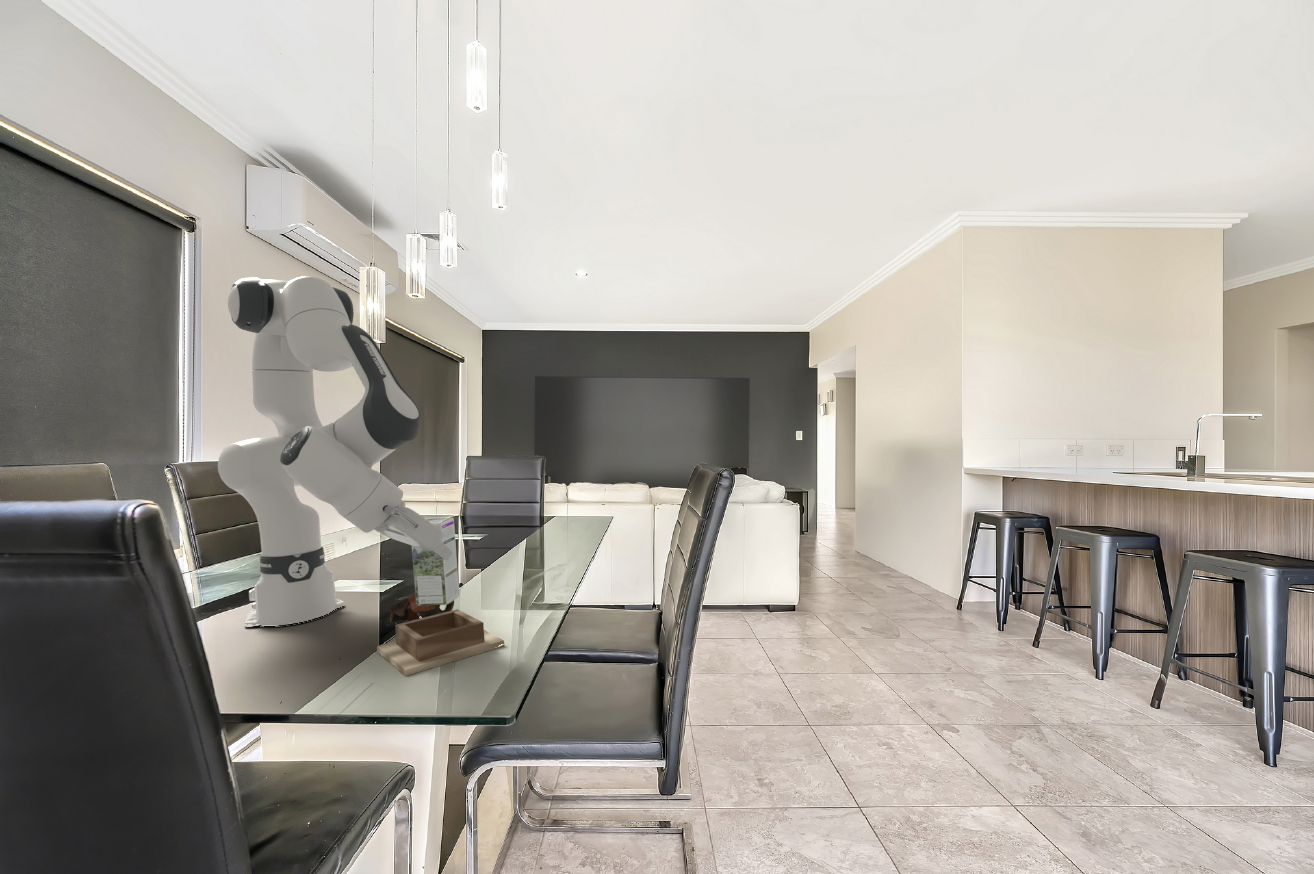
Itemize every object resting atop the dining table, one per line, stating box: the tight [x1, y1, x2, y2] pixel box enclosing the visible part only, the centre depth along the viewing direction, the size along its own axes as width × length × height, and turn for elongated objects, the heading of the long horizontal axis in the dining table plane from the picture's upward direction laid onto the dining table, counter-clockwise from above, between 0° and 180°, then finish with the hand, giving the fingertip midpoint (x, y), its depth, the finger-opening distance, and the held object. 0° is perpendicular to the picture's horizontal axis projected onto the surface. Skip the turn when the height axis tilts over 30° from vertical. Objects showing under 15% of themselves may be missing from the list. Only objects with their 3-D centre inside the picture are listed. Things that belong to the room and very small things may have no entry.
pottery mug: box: [388, 593, 455, 624], centre depth 121 cm, size 12×10×8 cm
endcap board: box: [376, 608, 505, 677], centre depth 108 cm, size 15×17×4 cm
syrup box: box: [411, 517, 460, 606], centre depth 108 cm, size 6×6×14 cm
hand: (438, 552), depth 108 cm, fingers closed on syrup box, 8 cm apart
